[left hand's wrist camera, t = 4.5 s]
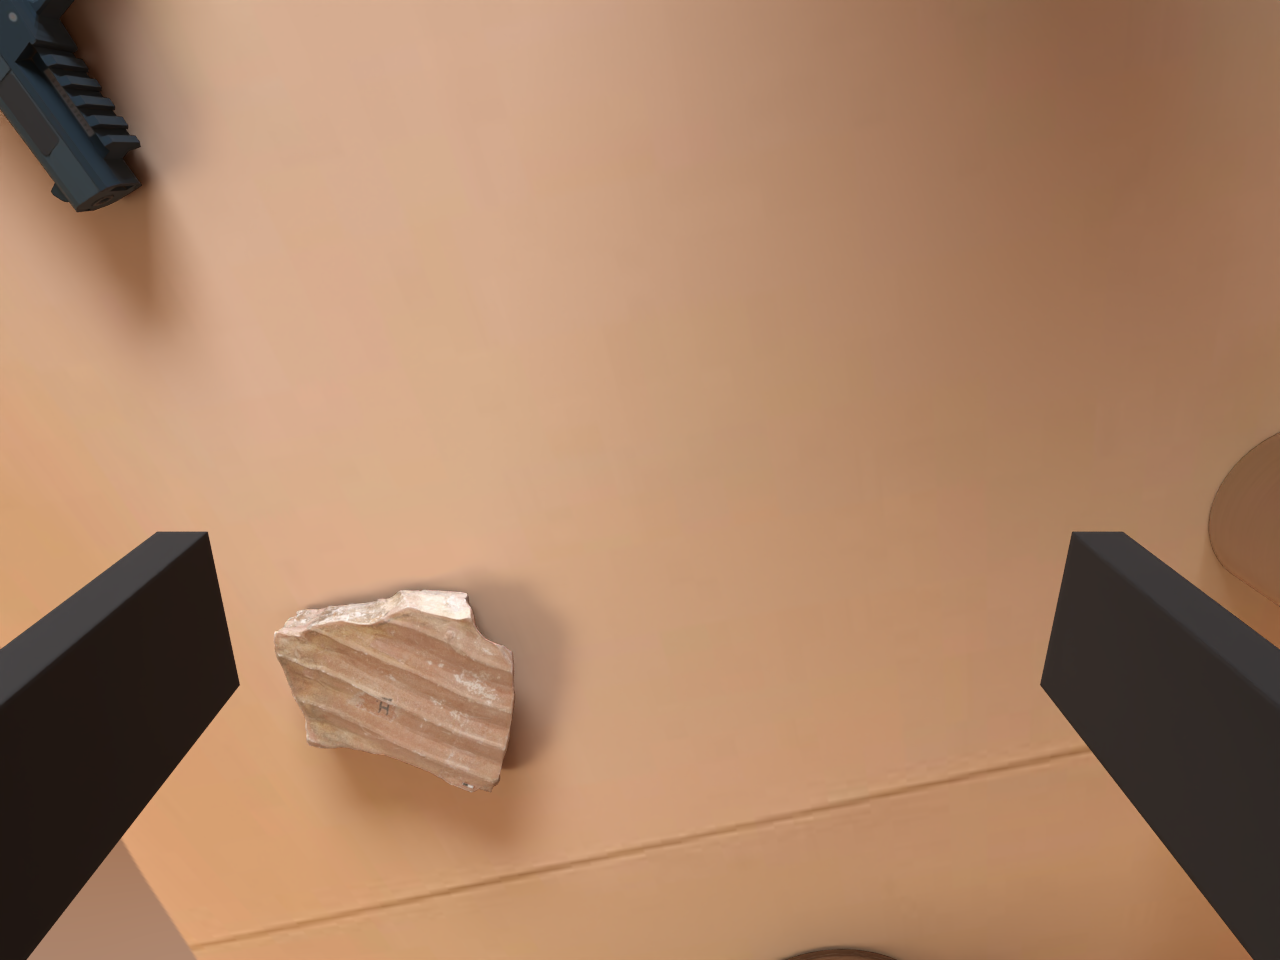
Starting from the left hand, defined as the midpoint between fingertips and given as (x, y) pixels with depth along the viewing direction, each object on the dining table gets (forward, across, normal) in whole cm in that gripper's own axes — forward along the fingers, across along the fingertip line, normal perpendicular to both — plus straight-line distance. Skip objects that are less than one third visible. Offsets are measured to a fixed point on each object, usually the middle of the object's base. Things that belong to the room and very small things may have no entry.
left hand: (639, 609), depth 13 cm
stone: (+28, +13, +21) cm, 37 cm away
